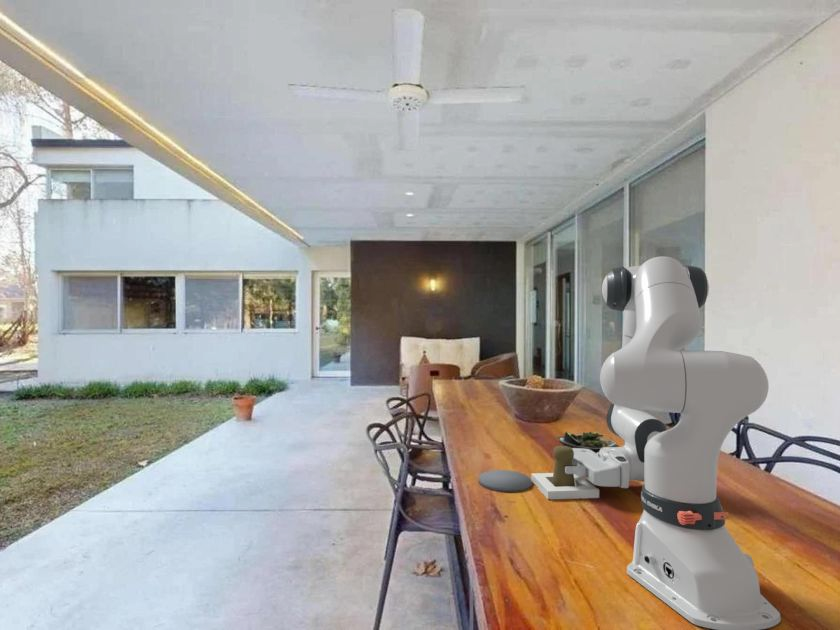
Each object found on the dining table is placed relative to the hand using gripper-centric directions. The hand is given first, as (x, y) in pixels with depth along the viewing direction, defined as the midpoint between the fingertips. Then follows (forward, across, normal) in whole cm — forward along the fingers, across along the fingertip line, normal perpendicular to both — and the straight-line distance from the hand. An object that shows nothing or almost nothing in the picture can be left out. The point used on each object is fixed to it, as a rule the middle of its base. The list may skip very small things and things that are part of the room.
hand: (560, 465), depth 121 cm
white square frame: (-1, 0, +6) cm, 6 cm away
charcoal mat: (+13, -6, +6) cm, 16 cm away
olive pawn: (-1, 0, +6) cm, 6 cm away
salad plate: (-25, -40, +6) cm, 48 cm away
